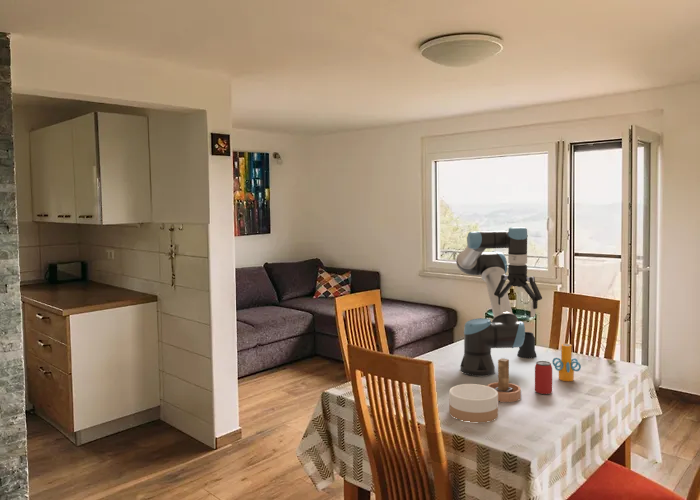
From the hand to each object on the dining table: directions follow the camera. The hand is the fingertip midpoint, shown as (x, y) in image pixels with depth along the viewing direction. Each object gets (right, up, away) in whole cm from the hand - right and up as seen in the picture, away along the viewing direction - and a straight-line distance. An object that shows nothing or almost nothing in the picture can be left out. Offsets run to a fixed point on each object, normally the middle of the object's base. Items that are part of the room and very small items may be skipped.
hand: (517, 314), depth 232 cm
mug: (+17, -25, +41) cm, 51 cm away
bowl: (-25, -33, -31) cm, 52 cm away
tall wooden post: (-10, -30, -15) cm, 35 cm away
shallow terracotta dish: (-10, -30, -15) cm, 35 cm away
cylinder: (+22, -28, +4) cm, 36 cm away
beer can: (+7, -30, -11) cm, 33 cm away
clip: (-10, -30, -15) cm, 35 cm away
